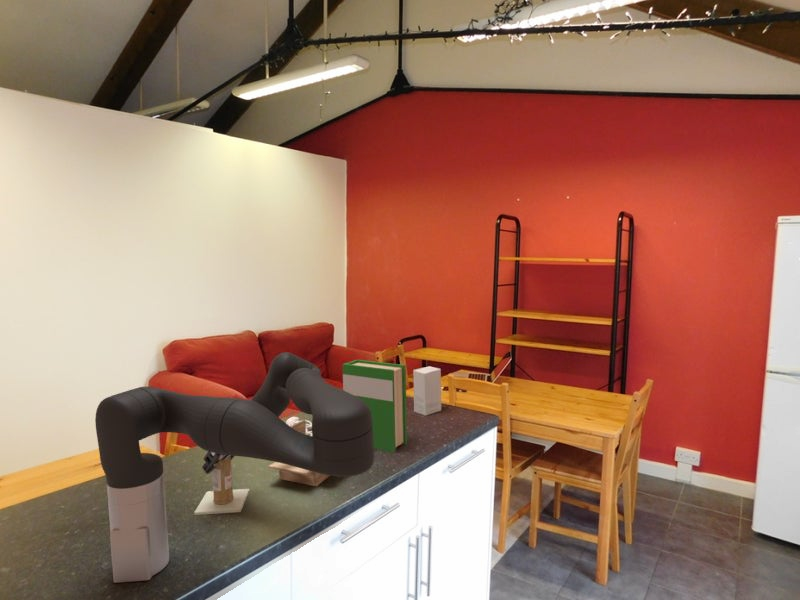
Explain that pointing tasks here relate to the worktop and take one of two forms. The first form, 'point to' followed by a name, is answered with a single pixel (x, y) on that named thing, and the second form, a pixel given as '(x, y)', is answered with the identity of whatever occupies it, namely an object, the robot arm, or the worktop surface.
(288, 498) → the worktop surface
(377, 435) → the hardback book
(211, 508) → the coaster
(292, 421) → the tangled rod sculpture
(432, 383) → the skincare box
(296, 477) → the carton
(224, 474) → the sprinkles bottle
